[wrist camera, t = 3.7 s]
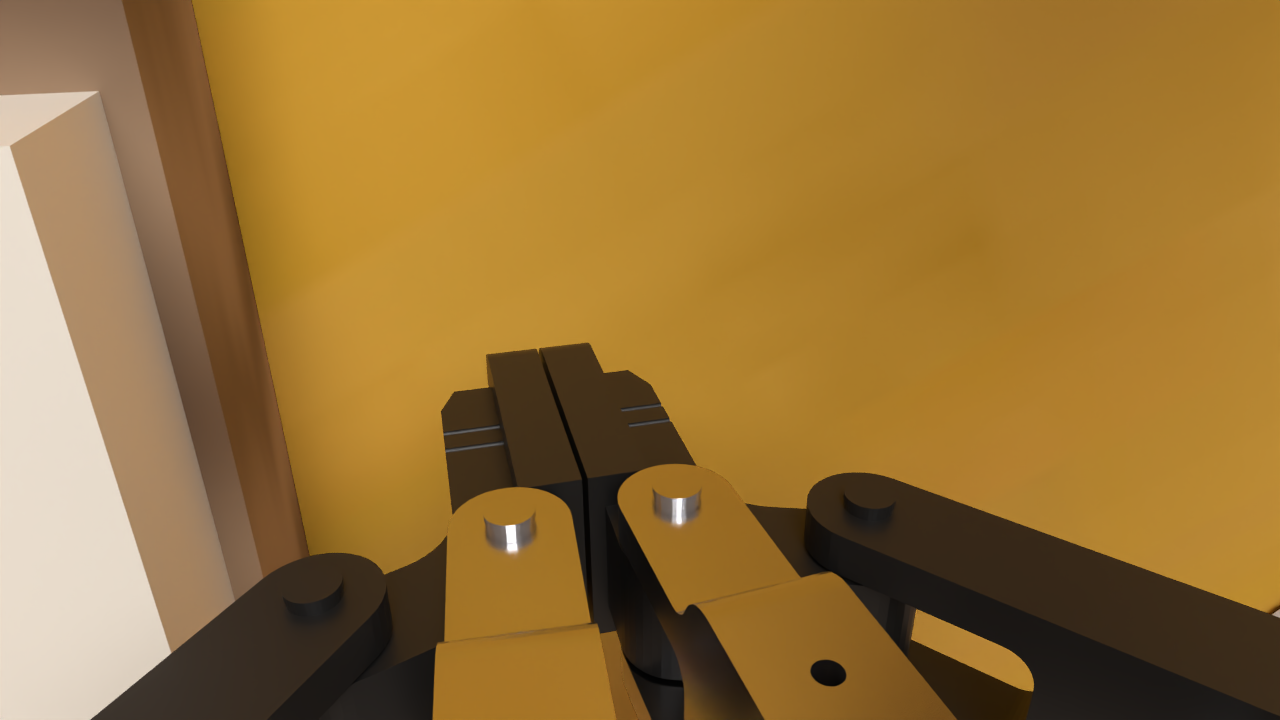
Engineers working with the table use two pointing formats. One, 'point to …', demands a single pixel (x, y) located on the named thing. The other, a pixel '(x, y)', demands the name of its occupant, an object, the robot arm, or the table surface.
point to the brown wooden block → (179, 245)
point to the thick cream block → (87, 431)
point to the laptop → (1277, 613)
